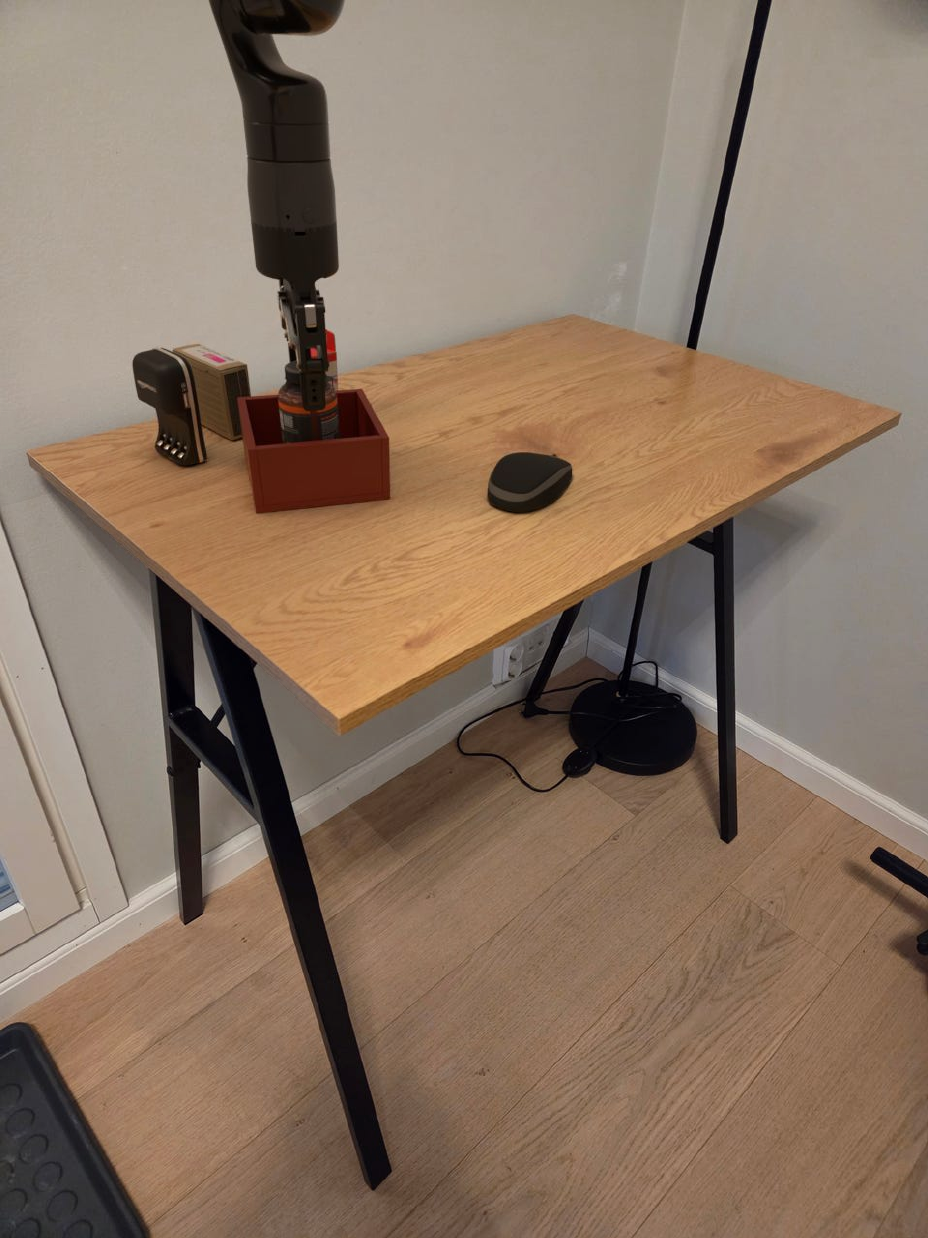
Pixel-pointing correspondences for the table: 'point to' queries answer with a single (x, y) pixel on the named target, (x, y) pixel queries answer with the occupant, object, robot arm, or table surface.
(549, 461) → the computer mouse
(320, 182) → the robot arm
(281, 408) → the supplement bottle
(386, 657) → the table surface
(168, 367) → the battery charger
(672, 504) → the table surface
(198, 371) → the ink box
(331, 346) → the ink box
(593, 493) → the table surface
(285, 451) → the tote
